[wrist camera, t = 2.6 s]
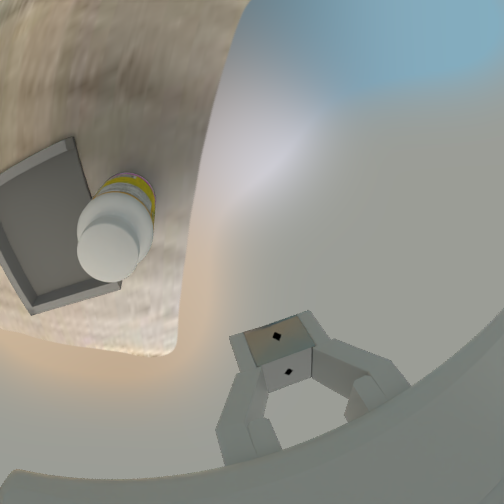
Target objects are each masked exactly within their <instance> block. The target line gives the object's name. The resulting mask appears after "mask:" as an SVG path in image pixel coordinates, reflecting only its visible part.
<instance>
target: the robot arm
mask: <svg viewBox="0 0 504 504" xmlns="http://www.w3.org/2000/svg"><path fill="white" fill-rule="evenodd" d="M229 339H230V343H231V346H232V349H233V352H234V355H235V358H236V361H237V364H238V367H239V370H240V373H238V374H236V377H235V379H234V382H233V384H232V387H231V390H230V392H229V395H228V398H227V401H226V403H225V406H224V409H223V411H222V414H221V416H220V419H219V421H218V424H217V427H216V429H215V431H216V435H217V439H218V442H219V446H220V450H221V453H222V457H223V461H224V464H225V466H224V467H220V468H215V469H211V470H205V471H200V472H194V473H188V474H181V475H174V476H165V477H156V478H142V479H85V478H72V477H62V476H54V475H47V474H40V473H35V472H30V471H25V470H20V469H16V470H13V471H12V472H11V473H10V474H9V476H8V477H7V479H6V480H5V481H4V483H3V484H2V486H1V487H0V504H504V308H503V309H502V311H501V312H500V313H499V314H498V315H497V316H496V317H495V318H494V319H493V320H492V321H491V322H490V323H489V324H488V325H487V326H486V327H485V328H484V329H483V330H482V331H481V332H479V333H478V334H477V335H476V336H475V337H474V338H473V339H472V340H471V341H470V342H469V343H467V344H466V345H465V346H464V347H463V348H461V349H460V350H459V351H458V352H457V353H455V354H454V355H453V356H452V357H450V358H449V359H448V360H447V361H445V362H444V363H443V364H442V365H440V366H439V367H438V368H436V369H435V370H434V371H432V372H431V373H430V374H428V375H427V376H426V377H424V378H423V379H421V380H420V381H418V382H417V383H415V384H414V385H413V386H411V385H410V384H409V383H408V382H407V380H406V379H405V377H404V376H403V375H402V374H401V372H400V371H399V370H398V369H397V367H396V366H395V365H394V364H393V362H392V361H391V360H389V359H386V358H383V357H381V356H378V355H375V354H373V353H370V352H368V351H365V350H362V349H360V348H357V347H354V346H352V345H350V344H347V343H345V342H342V341H340V340H337V339H332V340H331V339H330V338H329V337H328V335H327V334H326V332H325V331H324V329H323V328H322V327H321V325H320V324H319V322H318V321H317V319H316V318H315V317H314V315H313V314H312V312H311V311H309V310H307V311H304V312H302V313H299V314H296V315H293V316H290V317H288V318H285V319H282V320H279V321H276V322H274V323H271V324H269V325H265V326H262V327H259V328H255V329H252V330H249V331H245V332H242V333H239V334H235V335H232V336H229ZM311 377H312V378H313V379H315V380H316V381H318V382H320V383H321V384H323V385H325V386H326V387H328V388H330V389H332V390H333V391H335V392H337V393H339V394H340V395H342V396H344V397H346V398H348V399H349V401H348V404H347V407H346V410H345V413H344V416H345V418H346V420H347V421H348V423H346V424H344V425H342V426H340V427H338V428H336V429H333V430H331V431H329V432H327V433H324V434H322V435H320V436H317V437H315V438H313V439H310V440H308V441H305V442H303V443H300V444H297V445H295V446H292V447H289V448H287V449H284V450H282V448H281V446H280V443H279V441H278V438H277V436H276V434H275V431H274V430H273V427H272V425H271V422H270V420H269V419H266V418H263V416H264V412H265V407H266V403H267V399H268V393H270V392H273V391H276V390H278V389H281V388H284V387H286V386H289V385H291V384H294V383H297V382H300V381H303V380H305V379H308V378H311Z"/></svg>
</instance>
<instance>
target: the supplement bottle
mask: <svg viewBox="0 0 504 504" xmlns="http://www.w3.org/2000/svg"><path fill="white" fill-rule="evenodd" d="M154 216H155V194H154V191H153V188H152V186H151V185H150V184H149V182H148V181H147V180H146V179H144V178H143V177H142V176H140V175H138V174H135V173H128V172H126V173H120V174H117V175H114V176H113V177H111V178H110V179H108V180H107V181H106V182H105V183H104V185H103V186H102V187H101V188H100V189H99V191H98V192H97V193H96V194H95V196H94V197H93V198H92V199H91V201H90V202H89V203H88V204H87V206H86V207H85V208H84V210H83V211H82V213H81V215H80V217H79V220H78V225H77V238H78V245H77V256H78V259H79V262H80V264H81V266H82V268H83V269H84V270H85V271H86V272H87V273H88V274H89V275H90V276H92V277H93V278H95V279H97V280H100V281H103V282H118V281H121V280H123V279H125V278H127V277H128V276H130V275H131V274H132V272H133V271H134V270H135V268H136V266H137V264H138V263H139V262H140V261H141V260H142V259H143V258H144V257H145V256H146V255H147V253H148V251H149V249H150V247H151V244H152V240H153V231H154Z"/></svg>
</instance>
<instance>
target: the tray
mask: <svg viewBox="0 0 504 504" xmlns="http://www.w3.org/2000/svg"><path fill="white" fill-rule="evenodd" d="M91 199H92V197H91V195H90V192H89V189H88V185H87V182H86V179H85V176H84V173H83V169H82V166H81V163H80V159H79V156H78V152H77V148H76V145H75V141H74V137H71V138H67V139H64V140H62V141H60V142H57V143H55V144H53V145H51V146H49V147H47V148H45V149H43V150H41V151H39V152H38V153H36V154H34V155H32V156H30V157H28V158H26V159H25V160H23V161H21V162H19V163H18V164H16V165H14V166H13V167H11V168H9V169H8V170H6V171H4V172H3V173H1V174H0V264H1V266H2V268H3V270H4V272H5V274H6V275H7V277H8V279H9V281H10V283H11V284H12V286H13V288H14V290H15V291H16V293H17V295H18V296H19V298H20V299H21V301H22V303H23V304H24V306H25V307H26V309H27V310H28V312H29V313H30V315H31V316H32V315H35V314H39V313H42V312H45V311H49V310H52V309H56V308H59V307H62V306H66V305H69V304H73V303H76V302H80V301H83V300H86V299H90V298H93V297H97V296H100V295H103V294H107V293H110V292H114V291H117V290H121V285H122V280H121V281H118V282H103V281H100V280H97V279H95V278H93V277H92V276H90V275H89V274H88V273H87V272H86V271H85V270H84V269H83V268H82V266H81V264H80V262H79V259H78V256H77V245H78V238H77V225H78V220H79V217H80V215H81V213H82V211H83V210H84V208H85V207H86V206H87V204H88V203H89V202H90V201H91Z"/></svg>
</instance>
